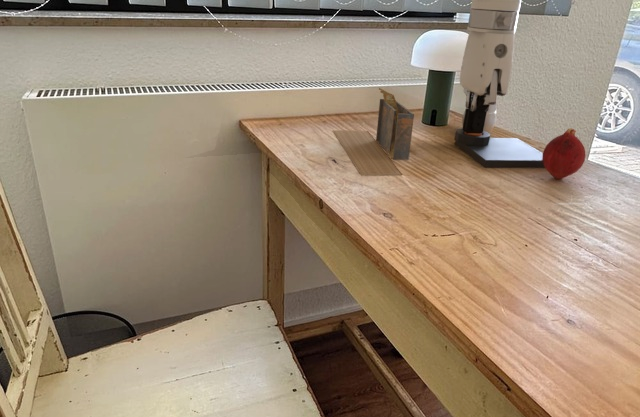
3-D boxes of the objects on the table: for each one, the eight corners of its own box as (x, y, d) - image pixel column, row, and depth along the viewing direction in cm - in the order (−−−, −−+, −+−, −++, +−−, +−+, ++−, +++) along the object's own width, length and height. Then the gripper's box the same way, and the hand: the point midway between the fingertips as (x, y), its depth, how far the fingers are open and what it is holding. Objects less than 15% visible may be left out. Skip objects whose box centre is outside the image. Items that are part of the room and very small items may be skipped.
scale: (514, 144, 93) (517, 129, 91) (553, 168, 80) (558, 151, 79) (448, 143, 91) (451, 128, 90) (478, 168, 79) (482, 150, 78)
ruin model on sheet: (332, 130, 96) (335, 79, 92) (413, 131, 98) (419, 81, 94) (361, 175, 73) (366, 110, 69) (464, 174, 76) (475, 111, 72)
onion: (573, 189, 72) (588, 136, 69) (533, 179, 75) (545, 128, 72) (581, 179, 76) (595, 128, 73) (543, 170, 79) (555, 121, 76)
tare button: (476, 138, 90) (477, 130, 89) (483, 143, 87) (484, 134, 86) (460, 138, 89) (461, 129, 89) (466, 143, 86) (468, 134, 86)
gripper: (537, 27, 74) (511, 144, 81) (493, 20, 87) (475, 122, 95) (490, 24, 73) (468, 144, 80) (453, 18, 86) (437, 121, 94)
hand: (472, 131), depth 87 cm, fingers closed
